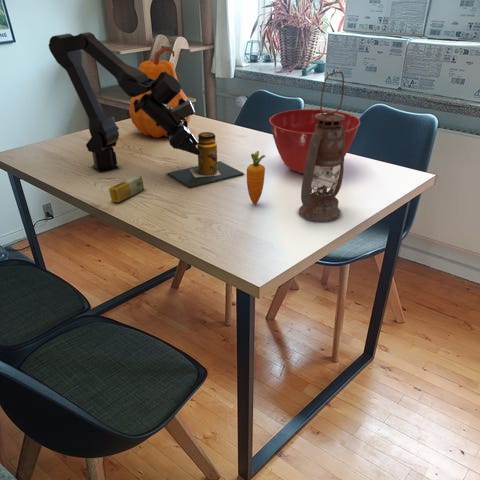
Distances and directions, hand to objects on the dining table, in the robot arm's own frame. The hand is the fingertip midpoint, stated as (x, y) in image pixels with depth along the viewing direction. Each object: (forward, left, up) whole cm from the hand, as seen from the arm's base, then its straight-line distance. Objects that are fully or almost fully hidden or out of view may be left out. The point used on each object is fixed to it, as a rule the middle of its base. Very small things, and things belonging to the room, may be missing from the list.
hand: (198, 149), depth 152 cm
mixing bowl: (+34, -15, -8) cm, 38 cm away
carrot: (+1, -29, -8) cm, 30 cm away
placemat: (+2, -1, -8) cm, 8 cm away
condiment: (+2, -1, -8) cm, 8 cm away
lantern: (+12, -44, -8) cm, 46 cm away
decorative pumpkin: (+12, +48, -8) cm, 50 cm away
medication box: (-26, -3, -8) cm, 28 cm away
